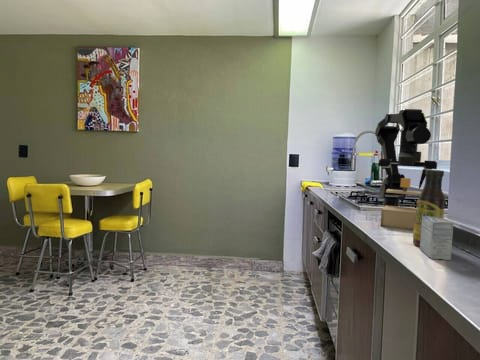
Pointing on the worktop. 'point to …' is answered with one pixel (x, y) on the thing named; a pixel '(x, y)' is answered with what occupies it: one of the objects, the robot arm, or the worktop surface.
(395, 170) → the robot arm
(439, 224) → the medicine box
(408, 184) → the pull drawer
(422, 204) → the sauce bottle
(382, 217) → the carton
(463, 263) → the worktop surface
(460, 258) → the worktop surface
